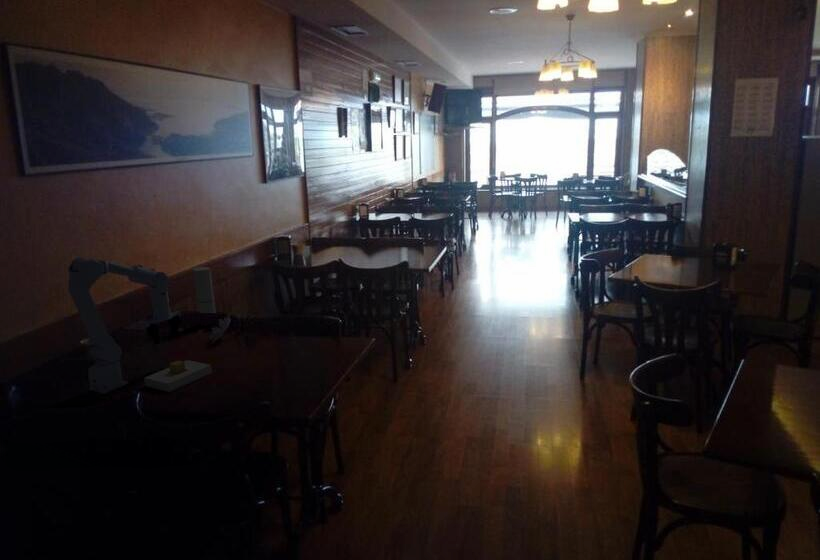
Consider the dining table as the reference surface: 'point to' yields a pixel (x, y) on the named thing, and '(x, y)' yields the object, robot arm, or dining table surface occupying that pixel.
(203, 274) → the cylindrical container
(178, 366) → the peg
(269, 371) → the dining table surface
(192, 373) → the well block
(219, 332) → the water lily
